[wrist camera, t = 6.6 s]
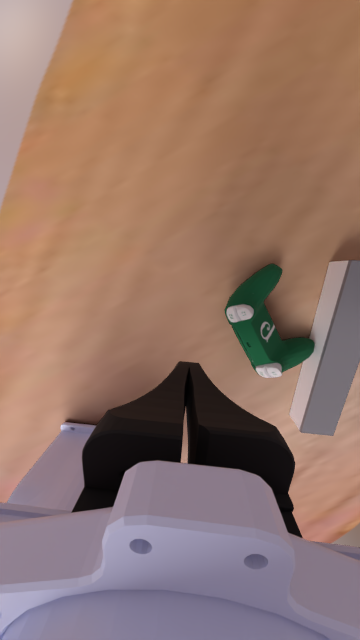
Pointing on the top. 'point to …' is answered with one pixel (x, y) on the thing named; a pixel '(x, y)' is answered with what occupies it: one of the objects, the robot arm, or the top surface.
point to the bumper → (330, 352)
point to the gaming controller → (263, 326)
